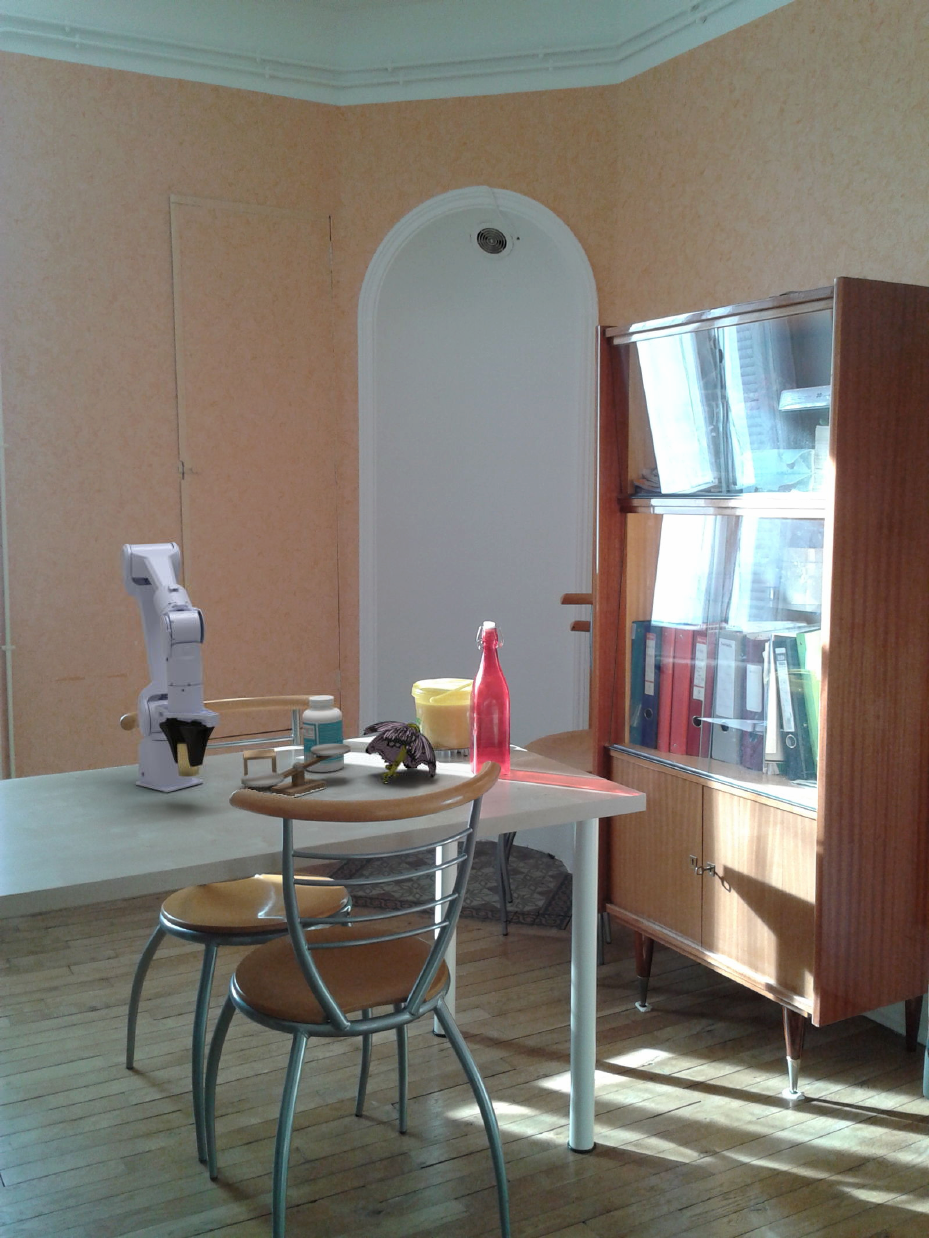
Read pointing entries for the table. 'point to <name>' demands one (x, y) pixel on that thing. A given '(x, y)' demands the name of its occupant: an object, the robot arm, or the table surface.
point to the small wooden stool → (259, 755)
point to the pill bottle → (322, 731)
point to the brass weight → (185, 761)
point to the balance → (296, 773)
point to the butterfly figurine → (401, 747)
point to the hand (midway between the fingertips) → (188, 763)
